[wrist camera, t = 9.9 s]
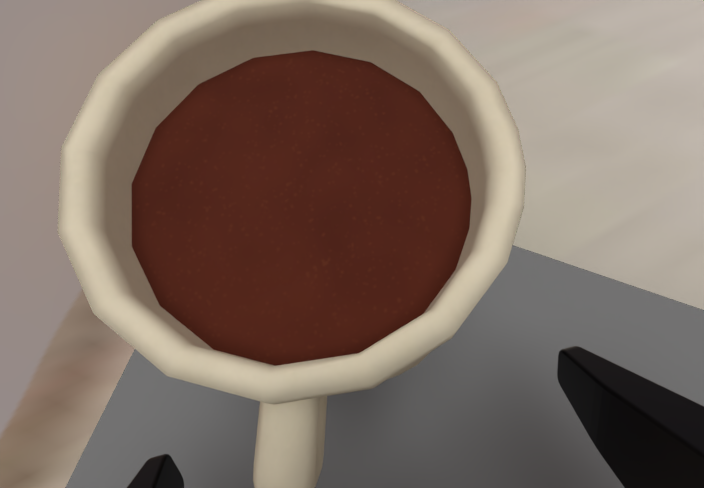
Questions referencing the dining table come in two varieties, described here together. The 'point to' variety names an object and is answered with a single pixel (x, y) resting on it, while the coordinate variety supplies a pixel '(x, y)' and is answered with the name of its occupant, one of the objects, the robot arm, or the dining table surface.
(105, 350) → the dining table surface
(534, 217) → the dining table surface
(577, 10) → the dining table surface
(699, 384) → the placemat
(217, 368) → the character mug
